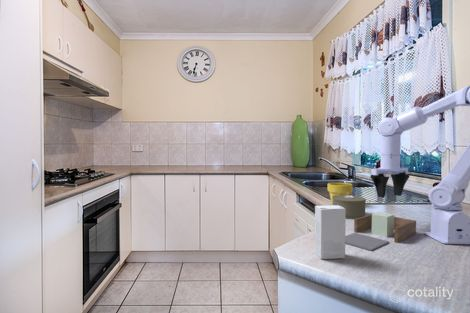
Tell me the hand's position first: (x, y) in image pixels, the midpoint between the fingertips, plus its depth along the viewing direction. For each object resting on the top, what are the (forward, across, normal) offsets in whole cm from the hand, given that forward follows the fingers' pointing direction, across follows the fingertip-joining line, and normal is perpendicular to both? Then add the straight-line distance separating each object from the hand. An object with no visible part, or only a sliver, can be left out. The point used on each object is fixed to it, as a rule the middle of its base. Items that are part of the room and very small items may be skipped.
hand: (389, 196), depth 96 cm
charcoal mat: (+10, +21, +8) cm, 25 cm away
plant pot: (+10, -8, -31) cm, 34 cm away
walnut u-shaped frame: (+10, +8, +5) cm, 14 cm away
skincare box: (+10, +36, +13) cm, 40 cm away
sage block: (+10, +9, +5) cm, 15 cm away
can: (+10, +2, -16) cm, 19 cm away
